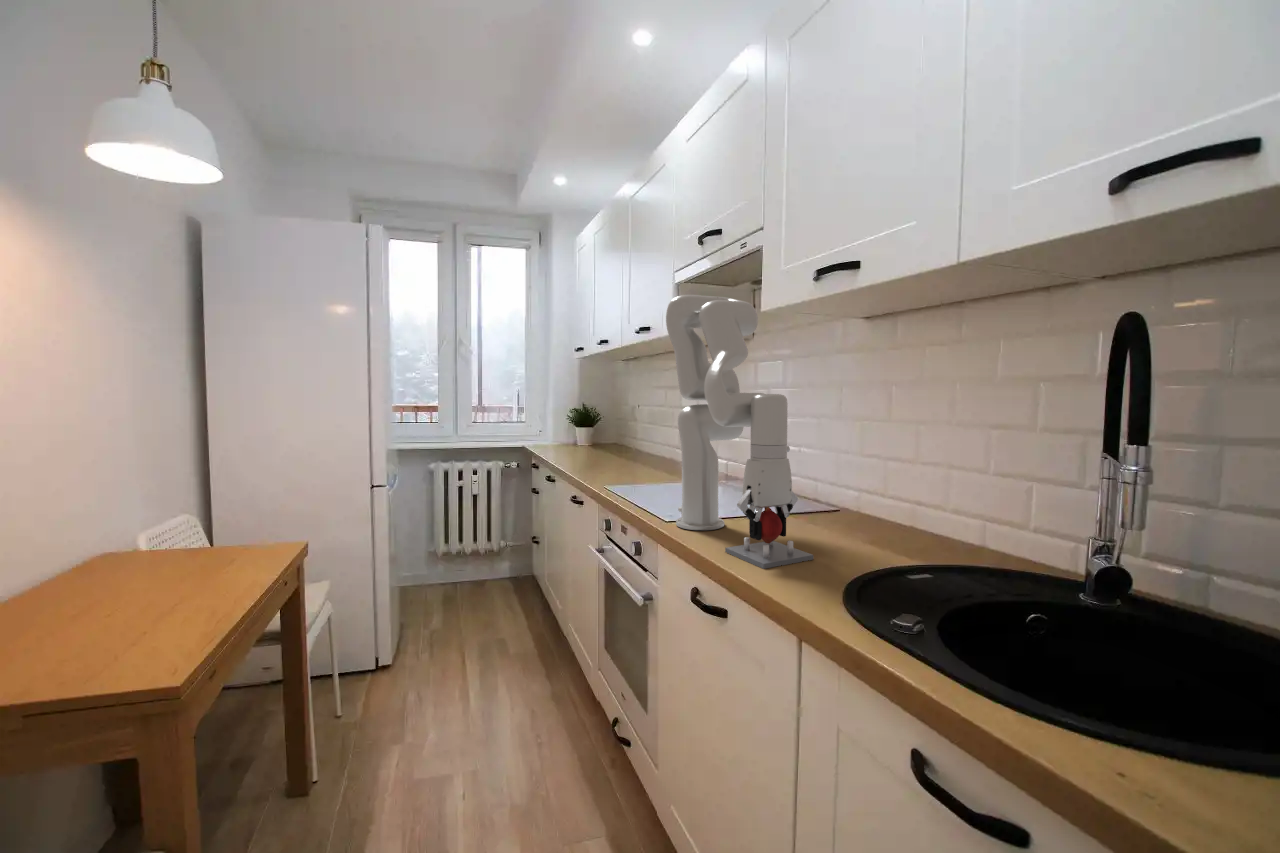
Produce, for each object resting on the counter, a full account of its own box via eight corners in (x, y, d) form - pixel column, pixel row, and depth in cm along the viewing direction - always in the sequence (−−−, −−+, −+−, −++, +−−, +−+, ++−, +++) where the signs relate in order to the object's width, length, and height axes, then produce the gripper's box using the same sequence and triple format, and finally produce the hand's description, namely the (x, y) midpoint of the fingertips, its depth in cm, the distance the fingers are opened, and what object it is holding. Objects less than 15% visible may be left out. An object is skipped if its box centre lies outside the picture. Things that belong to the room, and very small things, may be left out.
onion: (770, 538, 124) (770, 502, 123) (787, 544, 118) (788, 507, 118) (748, 541, 121) (748, 505, 120) (765, 548, 116) (765, 510, 115)
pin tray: (725, 552, 123) (725, 536, 122) (772, 544, 128) (772, 529, 128) (763, 568, 111) (763, 551, 111) (813, 559, 117) (813, 543, 117)
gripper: (788, 448, 126) (787, 528, 127) (724, 453, 118) (724, 537, 119) (812, 452, 119) (811, 536, 120) (746, 456, 111) (745, 546, 112)
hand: (767, 536), depth 120 cm, fingers closed on onion, 5 cm apart
